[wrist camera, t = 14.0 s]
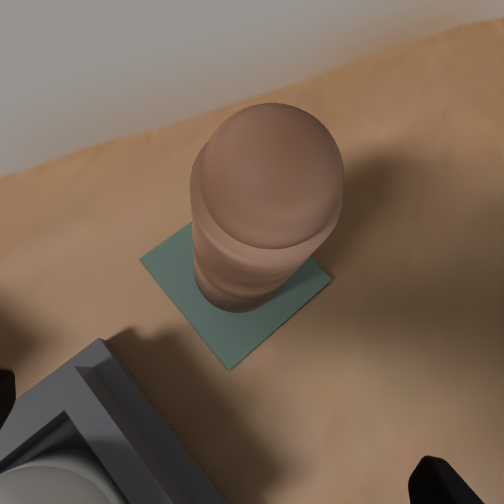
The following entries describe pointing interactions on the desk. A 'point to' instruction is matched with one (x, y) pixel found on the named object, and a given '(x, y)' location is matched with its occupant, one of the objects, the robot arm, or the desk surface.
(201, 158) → the terracotta pawn
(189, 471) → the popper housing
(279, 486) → the desk surface
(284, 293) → the tile
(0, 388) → the robot arm
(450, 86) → the desk surface
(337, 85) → the desk surface
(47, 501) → the dome
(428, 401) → the desk surface
